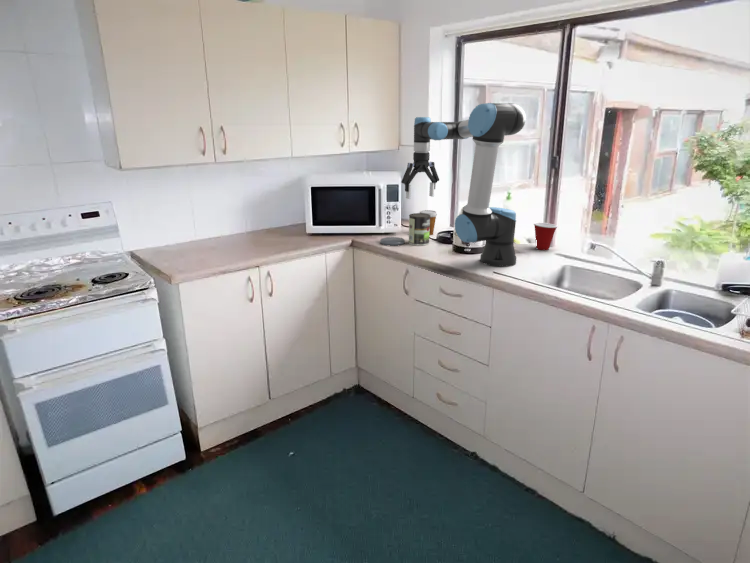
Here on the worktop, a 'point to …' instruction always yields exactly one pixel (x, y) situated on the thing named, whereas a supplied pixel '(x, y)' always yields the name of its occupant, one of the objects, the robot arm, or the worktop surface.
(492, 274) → the worktop surface
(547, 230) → the plastic cup
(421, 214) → the coffee can
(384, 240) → the coaster
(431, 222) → the disposable coffee cup
